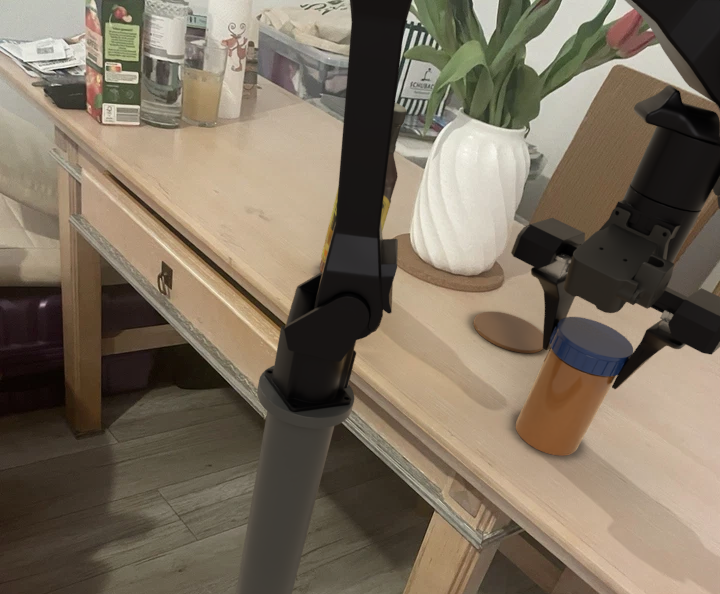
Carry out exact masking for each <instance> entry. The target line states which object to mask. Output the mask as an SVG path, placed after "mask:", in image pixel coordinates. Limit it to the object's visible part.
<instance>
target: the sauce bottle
mask: <svg viewBox="0 0 720 594" xmlns="http://www.w3.org/2000/svg"><path fill="white" fill-rule="evenodd" d="M407 112H408V111H407V109H406V107H404V106H403V105H401V104H399V103H397V102H395V107H394V116H393V124H392V132H391V140H390V148H389V157H388V165H387V173H386V181H385V190H384V198H383V206H382V214H381V226H382V231H383V230H384V227H385V223H386V220H387V217H388V214H389V210H390V207H391V204H392V197H393V193H394V190H395V187H396V184H397V179H398V170H397V164H396V159H395V152H396V147H397V141H398V139H399V135H400V131H401V128H402V126H403V124H404V123H405V120H406V116H407ZM337 198H338V189H337V190H336V193H335V198H334V201H333V207H332V210H331V215H330V219H329V223H328V226H327V232H326V235H325V239H324V244H323V248H322V252H321V256H320V258H321V260H320V263H319V273H321V272H322V271H323V267H324V264H325V260H326V256H327V252H328V248H329V244H330V241H331V237H332V233H333V230H334V226H335V222H336V211H337Z"/></svg>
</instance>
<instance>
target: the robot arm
mask: <svg viewBox="0 0 720 594" xmlns="http://www.w3.org/2000/svg"><path fill="white" fill-rule="evenodd" d="M624 1H625V2H626V3H627V4H628V5H629V6H630V7H631V8H632V9H633V10H635V12H637V13H638V14H639V15H640V16H641V17H642V18H643V20H644V21H645V22H646V24H647V25H648V26H649V28H650V29H651V31H652V33H653V34H654V36H655V38H656V40H657V42H658V43H659V45H660V47H661V49H662V50H663V52H664V54H665V55H666V57H667V58H668V59H669V61H670V62H671V63H672V65H673V66H674V68H675V69H676V71H677V73H678V74H679V75H680V76H681V78H682V79H683V81H684V82H685V84H686V85H688V87H689V88H691V89H693V90H694V91H696V92H697V93H699V94H700V95H702V96H703V97H704V98H706V99H708V100H710V101H711V102H713V103H714V104H715V105H716V107H717V109H718V111H719V112H720V0H624ZM412 3H413V0H349V7H350V18H351V19H350V21H351V24H350V36H349V51H348V61H347V62H348V63H347V75H346V88H345V100H344V101H345V102H344V111H343V113H344V114H343V125H342V127H343V128H342V138H341V151H340V161H339V162H340V163H339V176H338V186H337V190H338V198H337V211H336V222H335V226H334V230H333V233H332V237H331V241H330V244H329V248H328V252H327V256H326V260H325V264H324V267H323V271H322V272H319V273H318V274H316V275H314V276H312V277H310V278H308V279H307V280H305V281H303V282H302V283H300V284H298V285H297V286H296V288H295V291H294V295H293V298H292V302H291V306H290V309H289V312H288V315H287V320H286V323H285V325H281V326H280V330H279V337H278V343H277V347H276V354H275V360H274V365H273V366H274V369H268V368H266V369H264V371H265V373H264V376H265V377H266V379H267V380H268V381H269V383H270V384H271V385H272V387H273V388H274V390H275V391H276V392H277V394H278V395H279V396H280V398H281V399H282V401H283V402H284V403H285V405H286V406H287V407H288V409H289V410H290V411H292V412H302V411H309V410H316V409H323V408H330V407H338V406H345V405H350V404H351V400H352V399H351V397H350V396H349V395H348V394H347V393H346V391H345V390H344V389H345V388H347V387H348V384H349V383H350V380H351V376H352V372H353V368H354V365H355V361H356V356H357V351H356V350H355V348H356V344H357V341H358V340H361V339H365V338H367V337H368V336H370V335H371V334H372V333H374V332H376V331H377V330H378V329H379V327H380V325H381V323H382V319H383V316H384V312H385V313H387V314H388V315H390V314H392V310H393V286H394V280H395V277H396V272H397V269H398V254H399V253H398V252H399V251H398V250H399V240H398V238H385V239H384V238H383V230H382V226H381V214H382V206H383V198H384V190H385V181H386V173H387V165H388V157H389V148H390V140H391V132H392V124H393V116H394V107H395V103H396V98H397V90H398V82H399V73H400V66H401V57H402V51H403V50H402V49H403V43H404V42H403V40H404V33H405V27H406V25H407V24H406V23H407V20H408V17H409V14H410V10H411V7H412ZM633 112H634V113H635V114H636V115H637V116H638V117H639V118H640V119H642V121H644V122H645V123H646V124H648V125H651V126H654V127H655V129H654V131H653V134H652V136H651V138H650V140H649V142H648V144H647V146H646V149H645V151H644V153H643V155H642V157H641V160H640V162H639V164H638V166H637V168H636V170H635V172H634V175H633V176H632V179H631V181H630V183H629V185H628V187H627V189H626V192H625V193H624V197H623V198H622V199H621V200H619V201H617V202H616V205H615V207H614V208H613V209H612V211H611V214H610V216H609V218H608V219H607V220H606V221H605V222H604V223H603V225H601V227H600V228H599V229H598V230H597V231H595V232H594V233H592V235H591V236H589V237H588V238H587V239H586V233H585V232H584V231H581V230H580V229H578V228H575V227H573V226H571V225H570V224H567V223H565V222H563V221H561V220H558V219H556V218H554V217H550V218H547V219H543V220H540V221H536V222H533V223H529V224H528V225H525V226H523V228H522V229H521V230H520V231H519V233H518V234H517V236H516V238H515V241H514V244H513V246H512V249H511V252H510V253H511V255H512V257H514V258H515V259H517V260H520V261H522V262H523V263H525V264H527V265H529V266H531V268H530V274H531V276H532V277H534V278H536V279H537V280H538V281H539V284H540V286H541V288H542V291H543V301H544V315H543V331H542V334H543V349H542V350H544V351H549V349H550V344H549V343H550V337H551V335H552V333H553V331H554V329H555V327H556V326H557V324H558V322H559V321H560V320H561V319H563V318H566V317H568V314H569V312H570V309H571V307H572V305H573V303H574V300H575V298H576V297H579V298H580V299H581V300H583V301H585V302H588V303H590V304H592V305H594V306H595V307H596V309H597V310H599V311H601V312H603V313H606V314H615V313H618V312H620V311H621V310H622V309H623V307H624V306H625V304H626V303H628V304H630V305H632V306H634V305H635V304H637V305H639V306H640V307H643V308H645V309H646V310H647V309H650V308H651V309H653V310H655V311H656V312H659V313H661V315H660V317H659V319H660V320H659V321H658V322H656V323H654V324H653V325H651V326H649V328H647V329H646V330H645V332H644V334H643V337H642V339H641V340H640V343H639V344H638V345H637V346H636V348H635V349H634V350H633V354H632V355H631V357H630V358H629V359H628V361H627V362H626V364H625V365H624V366H623V368H622V369H621V371H620V372H619V374H618V375H617V376H616V378H615V380H614V382H613V384H612V386H611V388H612V389H613V390H617V389H618V388H620V386H622V385H623V384H624V383H625V382H626V381H627V380H628V379H629V378H630V377H632V375H633V374H635V373H636V372H638V370H639V369H640V368H641V367H643V366H644V364H646V363H647V362H648V361H649V360H650V359H651V358H652V357H653V356H654V355H655V354H657V353H658V352H660V351H661V350H663V349H664V348H665V347H669V348H671V349H674V350H681V349H683V348H684V347H685V346H688V347H690V348H691V349H693V350H695V351H698V352H700V353H702V354H706V355H711V356H712V355H713V354H714V353H715V352H716V351H717V350H718V349H719V348H720V296H719V295H717V294H715V293H713V292H711V291H709V290H707V289H704V288H703V287H700V288H699V289H698V290H696V291H694V292H693V293H691V294H690V295H689V296H687V295H684V294H683V293H681V292H679V291H676V290H674V289H673V288H670V287H668V285H669V283H670V282H671V279H672V276H673V271H674V268H675V263H674V261H675V260H676V258H677V256H678V255H679V252H680V251H681V249H682V248H683V245H684V243H685V241H686V239H687V238H688V236H689V234H690V233H691V231H692V230H693V228H694V226H695V225H696V223H697V222H698V219H699V215H700V213H701V212H702V210H703V208H704V206H705V204H706V203H707V201H708V199H709V198H710V195H711V193H712V192H713V194H714V195H715V196H717V198H716V200H717V206H718V208H719V210H720V117H719V115H718V113H717V112H716V111H714V110H711V109H707V108H703V107H700V106H697V105H693V104H690V103H686V102H683V100H682V94H681V91H680V90H679V89H677V88H676V87H674V86H672V85H670V84H668V85H666V86H665V87H664V88H663V89H661V90H660V92H659V91H658V93H656V94H655V95H651V96H649V97H647V98H645V99H643V100H641V101H639V102H637V103H635V104H634V106H633ZM349 385H350V384H349Z"/></svg>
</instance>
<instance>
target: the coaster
mask: <svg viewBox="0 0 720 594" xmlns="http://www.w3.org/2000/svg"><path fill="white" fill-rule="evenodd" d="M473 327H474V329H475V331H476V332H477V334H479V336H481V337H482V338H483V339H484V340H486V341H487V342H489V343H491V344H493V345H495V346H497V347H499V348H502V349H504V350H507V351H511V352H514V353H520V354H535V353H539V352H540V351H542V350H544V349H543V331H541V330H540V329H539V328H537V327H536V326H535V325H534V324H532V323H530V322H529V321H527V320H525V319H523V318H521V317H518V316H516V315H512V314H509V313H506V312H500V311H484V312H480V313H478V314H477V315H476V316H475V317H474V319H473Z"/></svg>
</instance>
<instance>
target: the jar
mask: <svg viewBox="0 0 720 594" xmlns="http://www.w3.org/2000/svg"><path fill="white" fill-rule="evenodd" d="M616 377H617V375H616V376H599V375H594V374H590V373H587V372H584V371H581V370H579V369H577V368H575V367H573V366H571V365H569V364H567V363H566V362H564V361H563V360H562V359H560V358H559V357H558V356H557V355H556V354H555V353H554V352H553V350H552V349H551V347H550V349H548V350H547V353H546V355H545V358H544V360H543V362H542V364H541V367H540V369H539V371H538V374H537V376H536V378H535V380H534V382H533V384H532V386H531V388H530V391H529V393H528V395H527V397H526V400H525V401H524V403H523V406H522V408H521V410H520V412H519V415H518V417H517V418H516V421H515V429H516V432H517V434H518V436H519V437H520V438H521V439H522V440H523V441H524V442H525V443H526V444H528V445H529V446H531V447H532V448H534V449H536V450H538V451H540V452H542V453H546V454H548V455H553V456H569V455H572V454H574V453H575V452H576V451H577V450H578V448H579V447H580V445H581V443H582V441H583V439H584V437H585V435H586V433H587V432H588V430H589V428H590V426H591V424H592V422H593V421H594V418H595V417H596V415H597V413H598V412H599V409H600V408H601V406H602V404H603V402H604V400H605V398H606V396H607V395H608V393H609V392H610V390H611V388H612V385H613V383H614V381H615V379H616Z"/></svg>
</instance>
